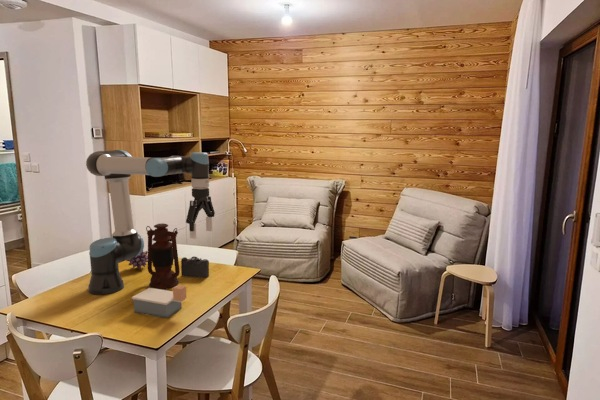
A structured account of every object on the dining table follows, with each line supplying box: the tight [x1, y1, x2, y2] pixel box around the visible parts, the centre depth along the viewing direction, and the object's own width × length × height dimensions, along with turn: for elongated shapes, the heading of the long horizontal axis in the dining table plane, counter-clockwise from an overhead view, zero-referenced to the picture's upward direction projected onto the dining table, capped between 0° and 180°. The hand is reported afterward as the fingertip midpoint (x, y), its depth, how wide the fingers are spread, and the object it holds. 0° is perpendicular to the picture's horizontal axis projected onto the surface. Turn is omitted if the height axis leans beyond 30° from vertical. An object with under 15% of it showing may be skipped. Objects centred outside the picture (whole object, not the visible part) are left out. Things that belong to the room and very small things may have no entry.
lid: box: [131, 284, 187, 305], centre depth 168 cm, size 21×11×7 cm, turn 71°
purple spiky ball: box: [126, 250, 148, 270], centre depth 219 cm, size 12×12×12 cm
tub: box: [132, 299, 183, 319], centre depth 169 cm, size 16×10×6 cm, turn 71°
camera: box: [180, 256, 210, 279], centre depth 212 cm, size 14×11×10 cm
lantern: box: [145, 222, 181, 290], centre depth 196 cm, size 17×14×30 cm
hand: (201, 234), depth 182 cm, fingers open, 13 cm apart
